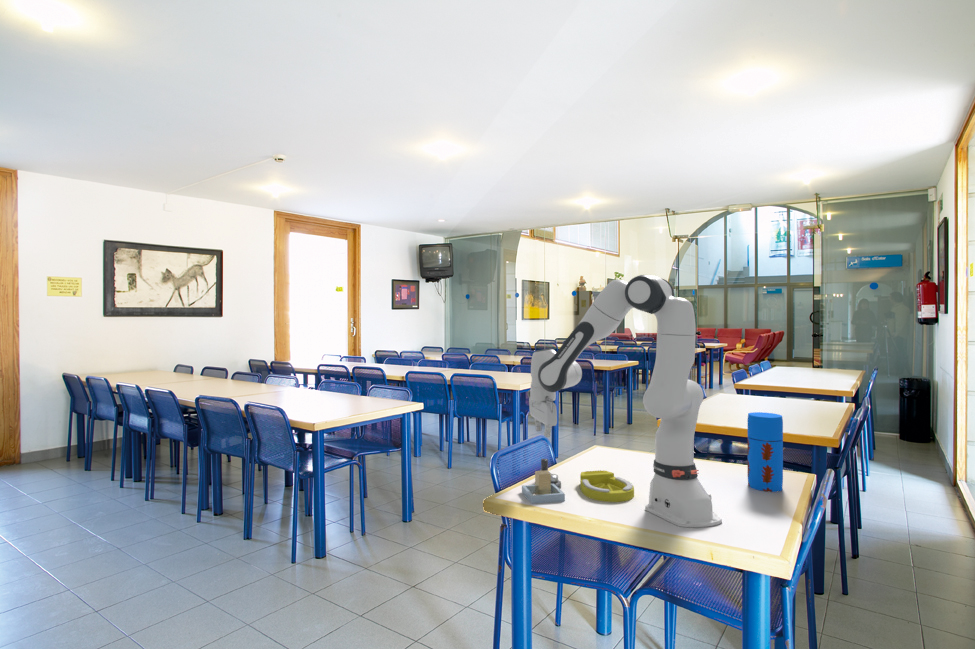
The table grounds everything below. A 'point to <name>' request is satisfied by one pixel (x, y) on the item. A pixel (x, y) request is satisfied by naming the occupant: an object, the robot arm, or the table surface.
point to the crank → (545, 467)
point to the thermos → (765, 451)
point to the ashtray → (605, 486)
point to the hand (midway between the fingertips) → (542, 433)
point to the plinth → (558, 484)
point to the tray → (543, 498)
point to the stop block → (542, 482)
